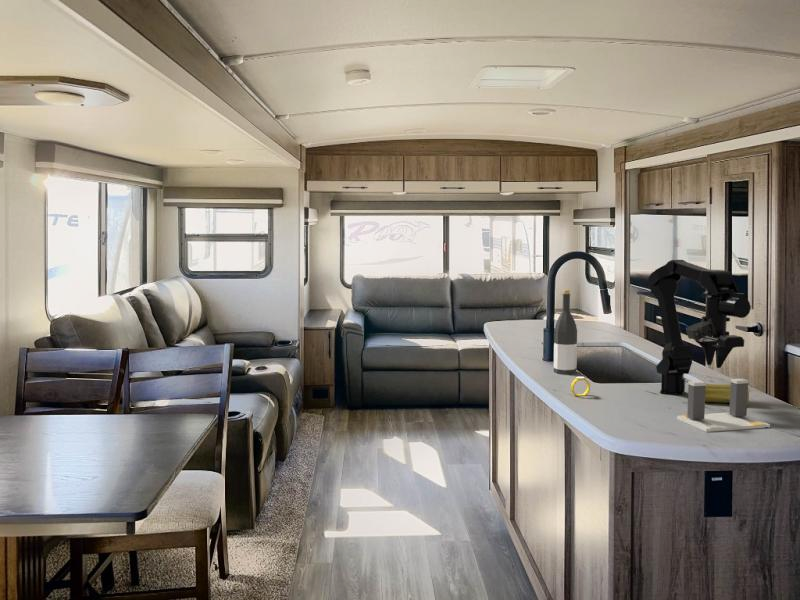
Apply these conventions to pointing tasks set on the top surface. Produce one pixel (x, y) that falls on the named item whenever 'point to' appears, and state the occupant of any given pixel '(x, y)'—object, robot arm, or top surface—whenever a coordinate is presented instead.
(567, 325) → the wine bottle
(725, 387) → the vase
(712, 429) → the switch board
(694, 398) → the switch
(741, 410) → the switch
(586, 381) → the yellow ring
